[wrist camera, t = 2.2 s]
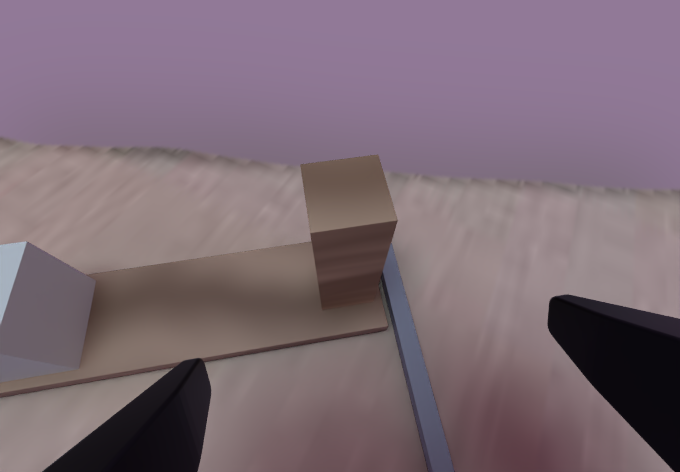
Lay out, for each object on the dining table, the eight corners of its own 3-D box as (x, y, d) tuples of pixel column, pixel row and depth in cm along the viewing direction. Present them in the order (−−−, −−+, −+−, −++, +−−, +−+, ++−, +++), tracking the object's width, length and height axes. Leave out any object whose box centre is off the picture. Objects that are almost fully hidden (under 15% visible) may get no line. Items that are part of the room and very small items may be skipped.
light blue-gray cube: (78, 369, 17) (-9, 352, 13) (-24, 386, 17) (-150, 375, 13) (96, 280, 20) (27, 241, 15) (6, 294, 19) (-91, 257, 15)
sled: (385, 330, 19) (424, 257, 11) (-20, 400, 18) (-375, 382, 9) (364, 240, 22) (381, 125, 14) (14, 293, 20) (-229, 199, 12)
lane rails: (473, 561, 15) (482, 570, 14) (-152, 710, 13) (-188, 732, 12) (384, 232, 23) (386, 225, 22) (-6, 290, 21) (-22, 285, 20)
